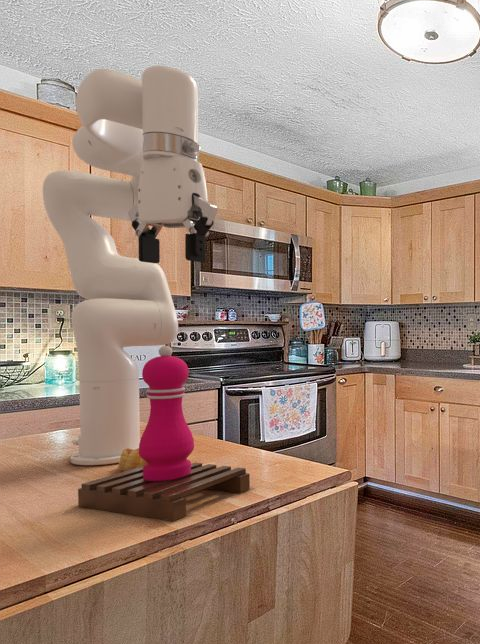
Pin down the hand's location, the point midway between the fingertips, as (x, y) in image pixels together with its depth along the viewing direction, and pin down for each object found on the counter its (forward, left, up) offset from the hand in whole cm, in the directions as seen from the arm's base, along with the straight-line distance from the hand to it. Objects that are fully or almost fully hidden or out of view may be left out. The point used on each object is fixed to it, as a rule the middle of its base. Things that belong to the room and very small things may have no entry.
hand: (172, 261), depth 79 cm
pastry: (-15, +7, -37) cm, 41 cm away
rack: (+3, -4, -37) cm, 37 cm away
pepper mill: (+3, -4, -34) cm, 34 cm away
